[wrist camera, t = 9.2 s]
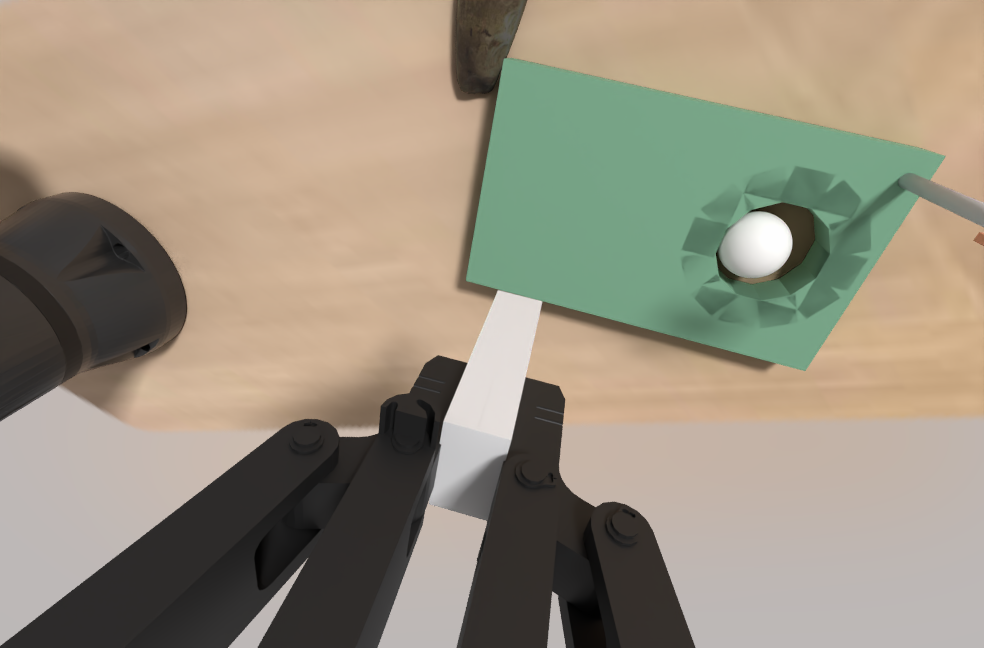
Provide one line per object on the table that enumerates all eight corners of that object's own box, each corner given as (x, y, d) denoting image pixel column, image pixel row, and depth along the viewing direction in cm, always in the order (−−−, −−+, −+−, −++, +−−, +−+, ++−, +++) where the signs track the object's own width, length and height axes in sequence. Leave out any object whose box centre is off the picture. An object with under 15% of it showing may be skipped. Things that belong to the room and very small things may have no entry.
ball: (693, 261, 31) (743, 291, 28) (720, 200, 29) (777, 226, 26) (735, 259, 33) (785, 288, 30) (763, 202, 31) (820, 227, 28)
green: (474, 267, 36) (387, 404, 22) (511, 57, 29) (417, 65, 15) (793, 351, 34) (918, 560, 20) (919, 147, 27) (1251, 254, 13)
